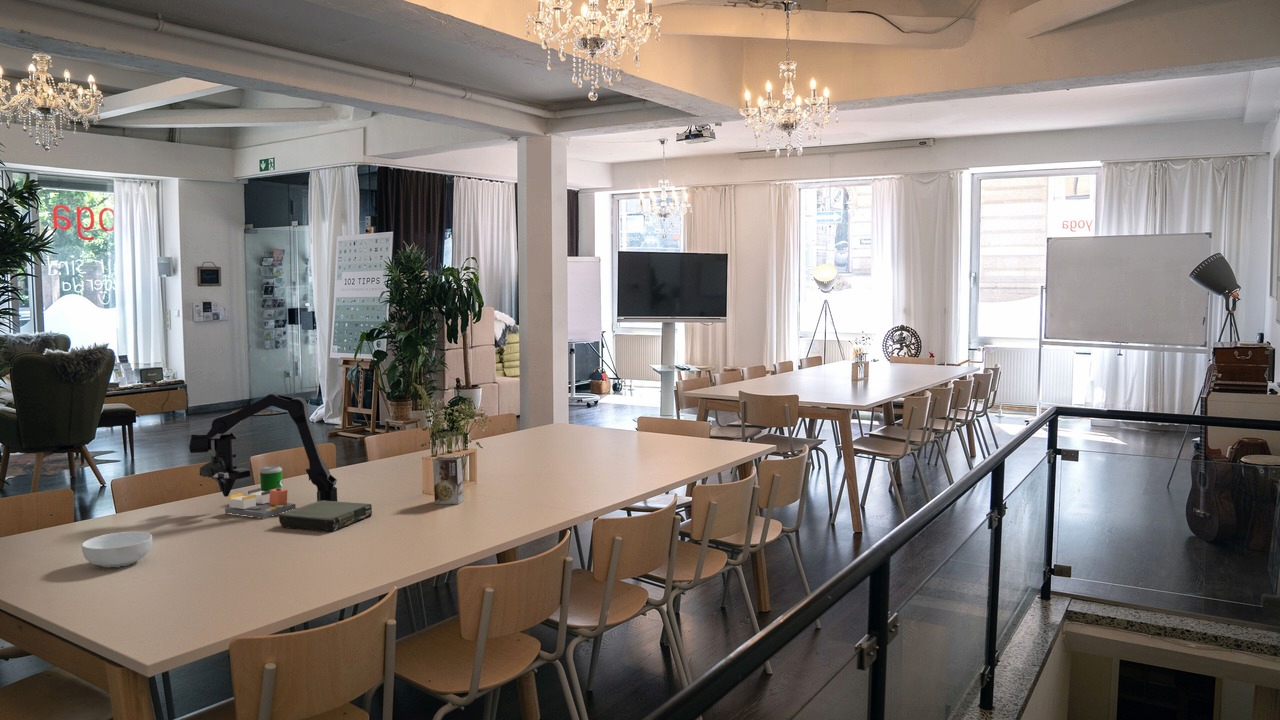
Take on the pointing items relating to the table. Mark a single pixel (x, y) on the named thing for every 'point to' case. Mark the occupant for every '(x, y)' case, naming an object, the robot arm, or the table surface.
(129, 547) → the cereal bowl
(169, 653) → the table surface
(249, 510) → the panel
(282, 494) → the cap
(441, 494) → the coffee box
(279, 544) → the table surface
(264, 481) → the soda can
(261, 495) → the block
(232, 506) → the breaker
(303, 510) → the network switch
